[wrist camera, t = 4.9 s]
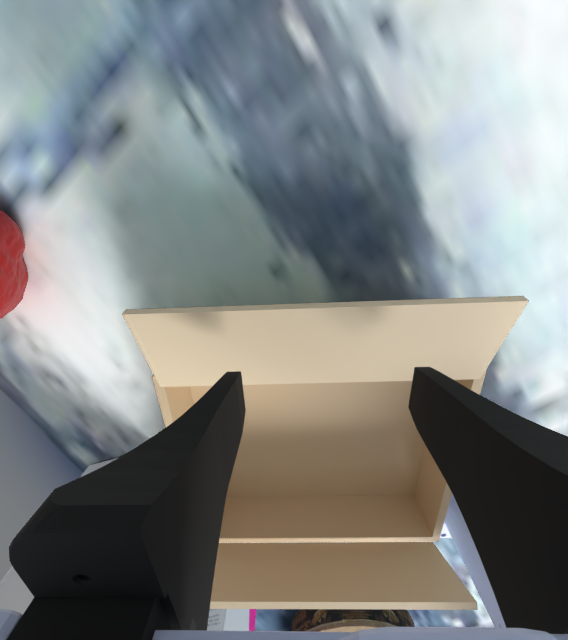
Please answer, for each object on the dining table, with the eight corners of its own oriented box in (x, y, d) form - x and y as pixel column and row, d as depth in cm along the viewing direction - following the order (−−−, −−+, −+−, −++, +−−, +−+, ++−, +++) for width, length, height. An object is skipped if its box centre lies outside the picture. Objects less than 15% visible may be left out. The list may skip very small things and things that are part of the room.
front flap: (479, 379, 16) (476, 373, 16) (528, 301, 13) (523, 295, 13) (160, 386, 17) (162, 381, 17) (121, 314, 13) (125, 309, 13)
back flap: (202, 543, 23) (202, 548, 23) (174, 601, 18) (174, 608, 18) (432, 542, 22) (433, 547, 22) (476, 602, 17) (477, 609, 17)
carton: (450, 337, 20) (487, 367, 16) (418, 494, 27) (438, 541, 23) (176, 345, 21) (151, 376, 17) (209, 496, 27) (196, 542, 24)
